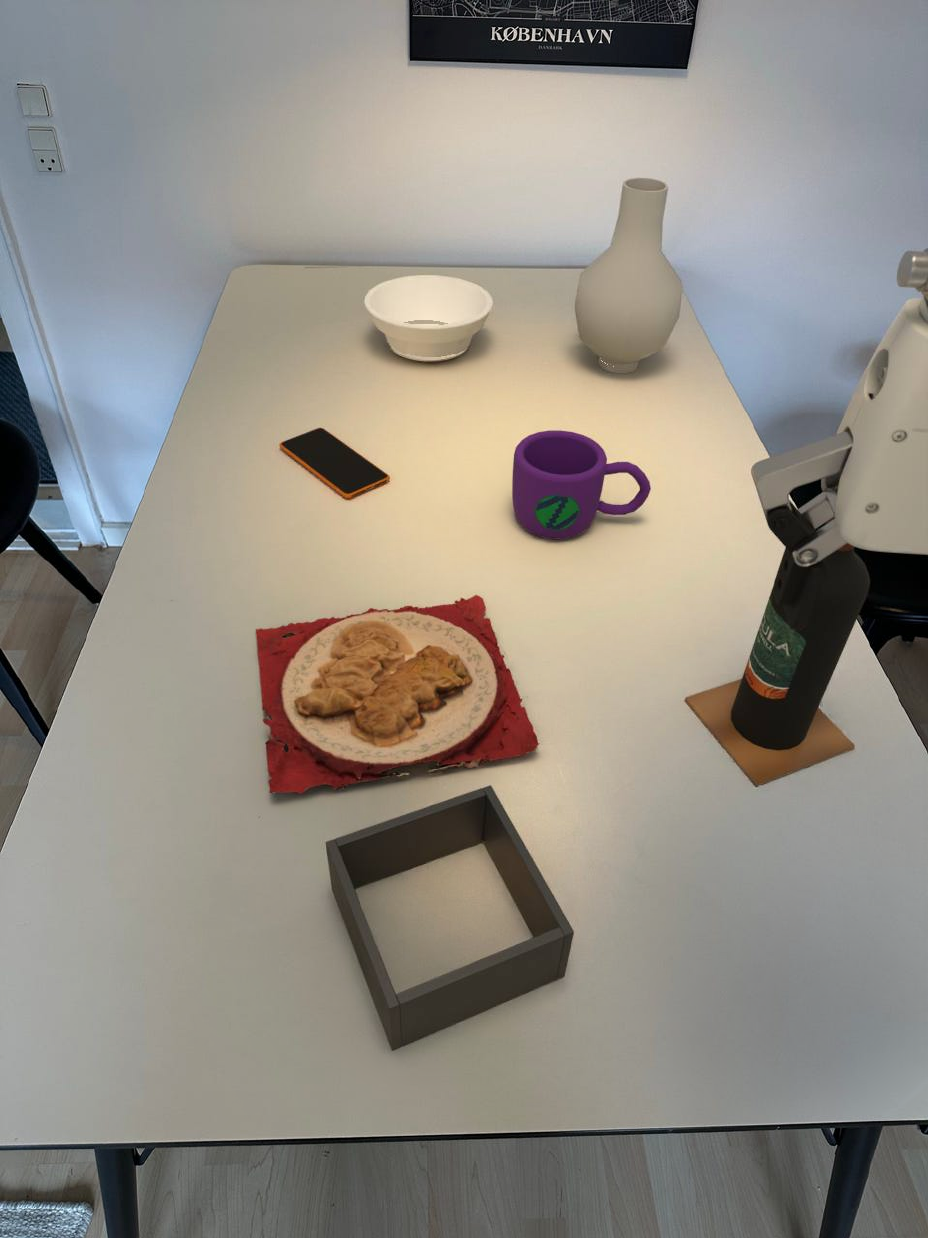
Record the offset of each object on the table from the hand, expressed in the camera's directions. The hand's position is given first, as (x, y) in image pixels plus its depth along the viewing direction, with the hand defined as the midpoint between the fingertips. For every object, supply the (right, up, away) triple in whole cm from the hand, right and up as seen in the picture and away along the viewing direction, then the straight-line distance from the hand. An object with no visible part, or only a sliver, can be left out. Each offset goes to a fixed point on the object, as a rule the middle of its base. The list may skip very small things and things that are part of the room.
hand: (885, 617), depth 46 cm
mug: (-7, +12, +70) cm, 72 cm away
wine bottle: (+9, -11, +45) cm, 47 cm away
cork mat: (+9, -11, +45) cm, 47 cm away
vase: (+4, +42, +103) cm, 112 cm away
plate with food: (-30, -8, +47) cm, 56 cm away
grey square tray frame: (-23, -26, +28) cm, 44 cm away
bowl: (-28, +46, +106) cm, 119 cm away
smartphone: (-40, +21, +79) cm, 91 cm away
